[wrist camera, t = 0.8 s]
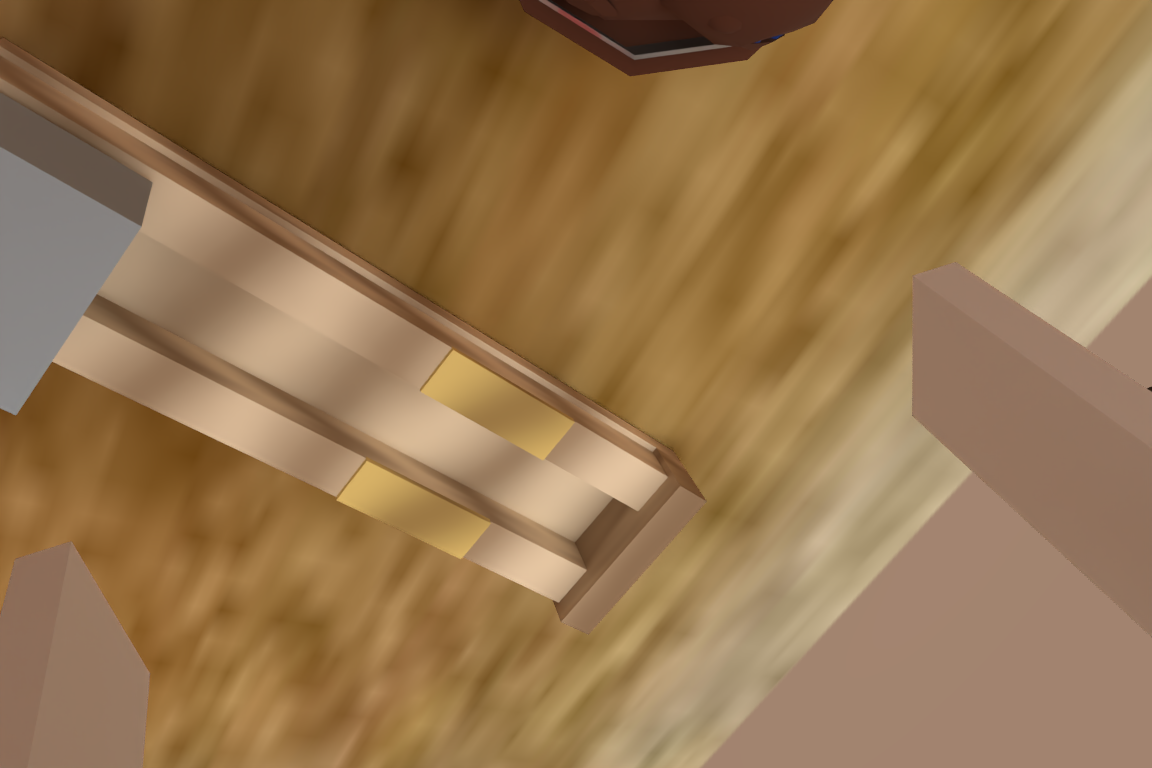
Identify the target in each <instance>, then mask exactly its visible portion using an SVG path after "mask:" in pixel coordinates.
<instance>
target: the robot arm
mask: <svg viewBox="0 0 1152 768" xmlns="http://www.w3.org/2000/svg"><path fill="white" fill-rule="evenodd" d="M912 416H913V417H914V418H915V419H916V420H918V421H919V422H920V423H921V424H922V425H923V426H924V427H925V428H926V429H927V430H928V431H929V432H930V433H932V434H933V435H934V436H935V437H936V438H937V439H938V440H939V441H940V442H941V443H942V444H943V445H945V446H946V447H947V448H948V449H949V450H950V451H951V452H952V453H953V454H954V455H955V456H956V457H957V458H959V459H960V460H961V461H962V462H963V463H964V464H965V465H966V466H967V467H968V468H969V469H970V470H972V471H973V472H974V473H975V474H976V475H977V476H978V477H979V478H980V479H981V480H982V481H983V482H985V483H986V484H987V485H988V486H989V487H990V488H991V489H992V490H993V491H994V492H995V493H996V494H997V495H999V496H1000V497H1001V498H1002V499H1003V500H1004V501H1005V502H1006V503H1007V504H1008V505H1009V506H1010V507H1011V508H1013V509H1014V510H1015V511H1016V512H1017V513H1018V514H1019V515H1020V516H1021V517H1022V518H1023V519H1024V520H1026V521H1027V522H1028V523H1029V524H1030V525H1031V526H1032V527H1033V528H1034V529H1035V530H1036V531H1037V532H1038V533H1040V534H1041V535H1042V536H1043V537H1044V538H1045V539H1046V540H1047V541H1048V542H1049V543H1050V544H1052V545H1053V546H1054V547H1055V548H1056V549H1057V550H1058V551H1059V552H1060V553H1061V554H1062V555H1063V556H1064V557H1065V558H1067V559H1068V560H1069V561H1070V562H1071V563H1072V564H1073V565H1074V566H1075V567H1076V568H1077V569H1079V570H1080V571H1081V572H1082V573H1083V574H1084V575H1085V576H1086V577H1087V578H1088V579H1089V580H1090V581H1091V582H1092V583H1094V584H1095V585H1096V586H1097V587H1098V588H1099V589H1100V590H1101V591H1102V592H1104V594H1106V595H1107V596H1108V597H1109V598H1110V599H1111V600H1112V601H1113V602H1114V603H1115V604H1116V605H1118V607H1119V608H1121V609H1122V610H1123V611H1124V612H1125V613H1126V614H1127V615H1128V616H1129V617H1130V618H1131V619H1132V620H1134V621H1135V622H1136V623H1137V624H1138V625H1139V626H1140V627H1141V628H1142V629H1143V630H1144V631H1145V632H1147V633H1148V634H1149V635H1150V636H1151V637H1152V387H1149V388H1145V387H1144V386H1142V385H1141V384H1139V383H1137V382H1136V381H1135V380H1133V379H1131V378H1130V377H1128V376H1127V375H1125V374H1124V373H1122V372H1121V371H1119V370H1118V369H1116V368H1115V367H1113V366H1112V365H1110V364H1109V363H1107V362H1106V361H1104V360H1103V359H1101V358H1100V357H1098V356H1097V355H1095V354H1093V353H1092V352H1091V351H1089V350H1088V349H1086V348H1085V347H1083V346H1082V345H1080V344H1079V343H1077V342H1076V341H1074V340H1073V339H1071V338H1070V337H1068V336H1067V335H1065V334H1064V333H1062V332H1061V331H1059V330H1058V329H1056V328H1055V327H1053V326H1052V325H1050V324H1048V323H1047V322H1045V321H1044V320H1042V319H1041V318H1039V317H1038V316H1036V315H1035V314H1033V313H1032V312H1030V311H1029V310H1027V309H1026V308H1024V307H1023V306H1021V305H1020V304H1018V303H1017V302H1015V301H1014V300H1012V299H1011V298H1009V297H1008V296H1006V295H1005V294H1003V293H1002V292H1000V291H999V290H997V289H996V288H994V287H993V286H991V285H990V284H988V283H987V282H985V281H984V280H982V279H981V278H979V277H978V276H976V275H975V274H973V273H971V272H970V271H968V270H967V269H965V268H964V267H962V266H961V265H959V264H958V263H956V262H955V263H951V264H948V265H945V266H942V267H939V268H936V269H932V270H929V271H926V272H923V273H920V274H917V275H913V392H912ZM149 679H150V673H149V671H148V670H147V668H146V666H145V665H144V663H143V661H142V659H141V658H140V656H139V654H138V653H137V651H136V649H135V648H134V646H133V644H132V643H131V641H130V639H129V638H128V636H127V634H126V632H125V631H124V629H123V627H122V626H121V624H120V622H119V621H118V619H117V617H116V616H115V614H114V612H113V611H112V609H111V607H110V606H109V604H108V602H107V600H106V599H105V597H104V595H103V594H102V592H101V590H100V589H99V587H98V585H97V584H96V582H95V580H94V579H93V577H92V575H91V573H90V572H89V570H88V568H87V567H86V565H85V563H84V562H83V560H82V558H81V557H80V555H79V553H78V552H77V550H76V548H75V547H74V545H73V543H72V541H71V542H68V543H64V544H61V545H58V546H55V547H52V548H49V549H45V550H42V551H39V552H36V553H33V554H30V555H26V556H23V557H20V558H17V559H15V562H14V566H13V569H12V573H11V577H10V581H9V585H8V589H7V592H6V596H5V600H4V604H3V608H2V611H1V615H0V768H143V755H144V743H145V730H146V717H147V704H148V692H149Z"/></svg>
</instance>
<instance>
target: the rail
mask: <svg viewBox="0 0 1152 768" xmlns="http://www.w3.org/2000/svg"><path fill="white" fill-rule="evenodd" d="M0 92H1V93H2V94H4V95H6V96H7V97H9V98H11V99H12V100H14V101H16V102H17V103H19V104H21V105H23V106H24V107H26V108H28V109H29V110H31V111H33V112H34V113H36V114H38V115H39V116H41V117H43V118H45V119H46V120H48V121H50V122H51V123H53V124H55V125H56V126H58V127H60V128H61V129H63V130H65V131H67V132H68V133H70V134H72V135H73V136H75V137H77V138H78V139H80V140H82V141H83V142H85V143H87V144H89V145H90V146H92V147H94V148H95V149H97V150H99V151H100V152H102V153H104V154H105V155H107V156H109V157H111V158H112V159H114V160H116V161H117V162H119V163H121V164H122V165H124V166H126V167H127V168H129V169H131V170H133V171H134V172H136V173H138V174H139V175H141V176H143V177H144V178H146V179H148V180H149V181H151V182H153V183H152V187H151V191H150V195H149V199H148V203H147V207H146V211H145V215H144V219H143V223H142V227H141V228H140V230H139V231H138V233H137V234H136V236H135V237H134V239H133V240H132V242H131V243H130V245H129V246H128V248H127V249H126V251H125V252H124V254H123V255H122V257H121V258H120V260H119V261H118V263H117V264H116V266H115V267H114V269H113V270H112V272H111V273H110V275H109V276H108V278H107V279H106V281H105V282H104V284H103V285H102V287H101V288H100V290H99V291H98V293H97V294H96V296H95V297H94V299H93V300H92V302H91V303H90V305H89V306H88V308H87V310H86V311H85V313H84V314H83V316H82V317H81V319H80V320H79V322H78V323H77V325H76V326H75V328H74V329H73V331H72V332H71V334H70V335H69V337H68V338H67V340H66V341H65V343H64V344H63V346H62V347H61V349H60V350H59V352H58V353H57V355H56V356H55V358H54V359H53V361H52V362H54V363H56V364H58V365H60V366H63V367H65V368H67V369H69V370H71V371H73V372H75V373H77V374H79V375H81V376H84V377H86V378H88V379H90V380H92V381H94V382H96V383H98V384H100V385H102V386H105V387H107V388H109V389H111V390H113V391H115V392H117V393H119V394H121V395H123V396H126V397H128V398H130V399H132V400H134V401H136V402H138V403H140V404H142V405H144V406H147V407H149V408H151V409H153V410H155V411H157V412H159V413H161V414H163V415H165V416H168V417H170V418H172V419H174V420H176V421H178V422H180V423H182V424H184V425H186V426H189V427H191V428H193V429H195V430H197V431H199V432H201V433H203V434H205V435H207V436H210V437H212V438H214V439H216V440H218V441H220V442H222V443H224V444H226V445H228V446H231V447H233V448H235V449H237V450H239V451H241V452H243V453H245V454H247V455H249V456H252V457H254V458H256V459H258V460H260V461H262V462H264V463H266V464H268V465H270V466H273V467H275V468H277V469H279V470H281V471H283V472H285V473H287V474H289V475H291V476H294V477H296V478H298V479H300V480H302V481H304V482H306V483H308V484H310V485H312V486H315V487H317V488H319V489H321V490H323V491H325V492H327V493H329V494H331V495H333V496H336V500H337V501H339V502H341V503H343V504H345V505H348V506H350V507H352V508H354V509H356V510H358V511H360V512H362V513H364V514H367V515H369V516H371V517H373V518H375V519H377V520H379V521H381V522H383V523H386V524H388V525H390V526H392V527H394V528H396V529H398V530H400V531H402V532H404V533H407V534H409V535H411V536H413V537H415V538H417V539H419V540H421V541H423V542H426V543H428V544H430V545H432V546H434V547H436V548H438V549H440V550H442V551H445V552H447V553H449V554H451V555H453V556H455V557H457V558H459V559H462V558H463V557H464V558H466V559H468V560H470V561H472V562H474V563H476V564H478V565H480V566H483V567H485V568H487V569H489V570H491V571H493V572H495V573H497V574H499V575H501V576H504V577H506V578H508V579H510V580H512V581H514V582H516V583H518V584H520V585H522V586H525V587H527V588H529V589H531V590H533V591H535V592H537V593H539V594H541V595H543V596H546V597H548V598H550V599H552V600H553V602H554V605H555V607H556V610H557V613H558V615H559V618H560V620H561V622H562V623H564V624H566V625H569V626H571V627H573V628H575V629H577V630H579V631H582V632H584V633H586V634H588V635H589V633H590V632H591V631H592V630H593V629H594V628H595V627H596V626H597V624H598V623H599V622H600V621H601V620H602V619H603V618H604V617H605V615H606V614H607V613H608V612H609V611H610V610H611V609H612V608H613V606H614V605H615V604H616V603H617V602H618V601H619V600H620V599H621V597H622V596H623V595H624V594H625V593H626V592H627V591H628V590H629V588H630V587H631V586H632V585H633V584H634V583H635V582H636V581H637V579H638V578H639V577H640V576H641V575H642V574H643V573H644V572H645V570H646V569H647V568H648V567H649V566H650V565H651V564H652V563H653V561H654V560H655V559H656V558H657V557H658V556H659V555H660V554H661V552H662V551H663V550H664V549H665V548H666V547H667V546H668V545H669V543H670V542H671V541H672V540H673V539H674V538H675V537H676V536H677V534H678V533H679V532H680V531H681V530H682V529H683V528H684V527H685V525H686V524H687V523H688V522H689V521H690V520H691V519H692V518H693V516H694V515H695V514H696V513H697V512H698V511H699V510H700V509H701V507H702V506H703V505H704V504H705V503H706V502H707V501H706V500H705V498H704V497H703V495H702V494H701V492H700V491H699V489H698V488H697V486H696V485H695V483H694V481H693V480H692V478H691V477H690V475H689V474H688V472H687V471H686V469H685V468H684V466H683V465H682V463H681V462H680V460H679V459H678V457H677V456H676V454H675V453H674V451H672V450H670V449H669V448H667V447H666V446H664V445H662V444H661V443H659V442H658V441H656V440H654V439H653V438H651V437H649V436H648V435H646V434H645V433H643V432H641V431H640V430H638V429H636V428H635V427H633V426H632V425H630V424H628V423H627V422H625V421H624V420H622V419H620V418H619V417H617V416H615V415H614V414H612V413H611V412H609V411H607V410H606V409H604V408H602V407H601V406H599V405H598V404H596V403H594V402H593V401H591V400H589V399H588V398H586V397H585V396H583V395H581V394H580V393H578V392H577V391H575V390H573V389H572V388H570V387H568V386H567V385H565V384H564V383H562V382H560V381H559V380H557V379H555V378H554V377H552V376H551V375H549V374H547V373H546V372H544V371H543V370H541V369H539V368H538V367H536V366H534V365H533V364H531V363H530V362H528V361H526V360H525V359H523V358H521V357H520V356H518V355H517V354H515V353H513V352H512V351H510V350H508V349H507V348H505V347H504V346H502V345H500V344H499V343H497V342H496V341H494V340H492V339H491V338H489V337H487V336H486V335H484V334H483V333H481V332H479V331H478V330H476V329H474V328H473V327H471V326H470V325H468V324H466V323H465V322H463V321H462V320H460V319H458V318H457V317H455V316H453V315H452V314H450V313H449V312H447V311H445V310H444V309H442V308H440V307H439V306H437V305H436V304H434V303H432V302H431V301H429V300H427V299H426V298H424V297H423V296H421V295H419V294H418V293H416V292H415V291H413V290H411V289H410V288H408V287H406V286H405V285H403V284H402V283H400V282H398V281H397V280H395V279H393V278H392V277H390V276H389V275H387V274H385V273H384V272H382V271H381V270H379V269H377V268H376V267H374V266H372V265H371V264H369V263H368V262H366V261H364V260H363V259H361V258H359V257H358V256H356V255H355V254H353V253H351V252H350V251H348V250H346V249H345V248H343V247H342V246H340V245H338V244H337V243H335V242H334V241H332V240H330V239H329V238H327V237H325V236H324V235H322V234H321V233H319V232H317V231H316V230H314V229H312V228H311V227H309V226H308V225H306V224H304V223H303V222H301V221H300V220H298V219H296V218H295V217H293V216H291V215H290V214H288V213H287V212H285V211H283V210H282V209H280V208H278V207H277V206H275V205H274V204H272V203H270V202H269V201H267V200H265V199H264V198H262V197H261V196H259V195H257V194H256V193H254V192H253V191H251V190H249V189H248V188H246V187H244V186H243V185H241V184H240V183H238V182H236V181H235V180H233V179H231V178H230V177H228V176H227V175H225V174H223V173H222V172H220V171H219V170H217V169H215V168H214V167H212V166H210V165H209V164H207V163H206V162H204V161H202V160H201V159H199V158H197V157H196V156H194V155H193V154H191V153H189V152H188V151H186V150H185V149H183V148H181V147H180V146H178V145H176V144H175V143H173V142H172V141H170V140H168V139H167V138H165V137H163V136H162V135H160V134H159V133H157V132H155V131H154V130H152V129H150V128H149V127H147V126H146V125H144V124H142V123H141V122H139V121H138V120H136V119H134V118H133V117H131V116H129V115H128V114H126V113H125V112H123V111H121V110H120V109H118V108H116V107H115V106H113V105H112V104H110V103H108V102H107V101H105V100H104V99H102V98H100V97H99V96H97V95H95V94H94V93H92V92H91V91H89V90H87V89H86V88H84V87H82V86H81V85H79V84H78V83H76V82H74V81H73V80H71V79H69V78H68V77H66V76H65V75H63V74H61V73H60V72H58V71H57V70H55V69H53V68H52V67H50V66H48V65H47V64H45V63H44V62H42V61H40V60H39V59H37V58H35V57H34V56H32V55H31V54H29V53H27V52H26V51H24V50H23V49H21V48H19V47H18V46H16V45H14V44H13V43H11V42H10V41H8V40H6V39H5V38H2V39H0Z"/></svg>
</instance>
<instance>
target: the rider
mask: <svg viewBox="0 0 1152 768" xmlns="http://www.w3.org/2000/svg"><path fill="white" fill-rule="evenodd" d="M152 183H153V182H151V181H149V180H148V179H146V178H144V177H143V176H141V175H139V174H138V173H136V172H134V171H133V170H131V169H129V168H127V167H126V166H124V165H122V164H121V163H119V162H117V161H116V160H114V159H112V158H111V157H109V156H107V155H105V154H104V153H102V152H100V151H99V150H97V149H95V148H94V147H92V146H90V145H89V144H87V143H85V142H83V141H82V140H80V139H78V138H77V137H75V136H73V135H72V134H70V133H68V132H67V131H65V130H63V129H61V128H60V127H58V126H56V125H55V124H53V123H51V122H50V121H48V120H46V119H45V118H43V117H41V116H39V115H38V114H36V113H34V112H33V111H31V110H29V109H28V108H26V107H24V106H23V105H21V104H19V103H17V102H16V101H14V100H12V99H11V98H9V97H7V96H6V95H4V94H2V93H1V92H0V408H1V409H3V410H5V411H8V412H10V413H12V414H14V415H17V413H18V412H19V410H20V409H21V407H22V406H23V404H24V403H25V401H26V400H27V398H28V397H29V395H30V394H31V392H32V391H33V389H34V388H35V386H36V385H37V383H38V382H39V380H40V379H41V377H42V376H43V374H44V373H45V371H46V370H47V368H48V367H49V365H50V364H51V362H52V361H53V359H54V358H55V356H56V355H57V353H58V352H59V350H60V349H61V347H62V346H63V344H64V343H65V341H66V340H67V338H68V337H69V335H70V334H71V332H72V331H73V329H74V328H75V326H76V325H77V323H78V322H79V320H80V319H81V317H82V316H83V314H84V313H85V311H86V310H87V308H88V306H89V305H90V303H91V302H92V300H93V299H94V297H95V296H96V294H97V293H98V291H99V290H100V288H101V287H102V285H103V284H104V282H105V281H106V279H107V278H108V276H109V275H110V273H111V272H112V270H113V269H114V267H115V266H116V264H117V263H118V261H119V260H120V258H121V257H122V255H123V254H124V252H125V251H126V249H127V248H128V246H129V245H130V243H131V242H132V240H133V239H134V237H135V236H136V234H137V233H138V231H139V230H140V228H141V227H142V223H143V219H144V215H145V211H146V207H147V203H148V199H149V195H150V191H151V187H152Z"/></svg>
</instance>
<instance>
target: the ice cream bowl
mask: <svg viewBox="0 0 1152 768" xmlns="http://www.w3.org/2000/svg"><path fill="white" fill-rule="evenodd" d="M832 1H833V0H520V2H521V5H522V7H523V10H524V11H525V12H526V13H528V14H529V15H531V16H533V17H534V18H536V19H538V20H539V21H541V22H542V23H544V24H546V25H547V26H549V27H551V28H552V29H554V30H556V31H557V32H559V33H560V34H562V35H564V36H565V37H567V38H569V39H570V40H572V41H574V42H575V43H577V44H578V45H580V46H582V47H583V48H585V49H587V50H588V51H590V52H591V53H593V54H595V55H596V56H598V57H600V58H601V59H603V60H605V61H606V62H608V63H609V64H611V65H613V66H614V67H616V68H618V69H619V70H621V71H622V72H624V73H626V74H627V75H629V76H635V75H643V74H650V73H657V72H664V71H671V70H678V69H685V68H693V67H700V66H707V65H714V64H721V63H728V62H735V61H743V60H748V59H749V58H750V57H751V56H752V55H753V54H754V53H755V52H756V51H757V50H758V49H760V48H761V47H762V46H764V45H766V44H769V43H771V42H773V41H775V40H777V39H779V38H780V37H782V36H784V35H785V34H786V33H789V32H793V31H795V30H798V29H800V28H803V27H805V26H808V25H810V24H813V23H815V22H816V21H817V19H818V18H819V17H820V16H821V15H822V13H823V12H824V11H825V10H826V8H827V7H828V6H829V5H830V4H831V2H832Z"/></svg>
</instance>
